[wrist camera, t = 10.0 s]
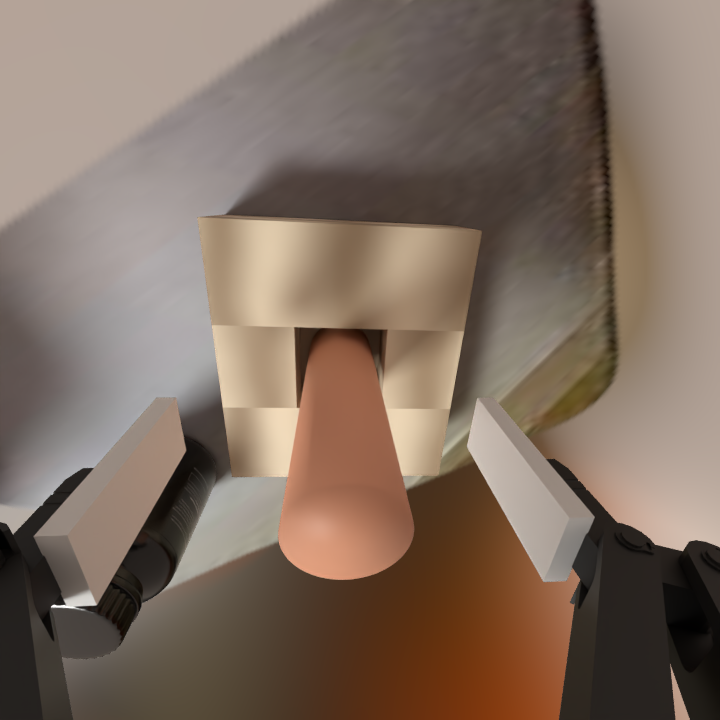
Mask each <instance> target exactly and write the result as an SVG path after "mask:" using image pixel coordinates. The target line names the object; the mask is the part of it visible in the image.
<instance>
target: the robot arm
mask: <svg viewBox="0 0 720 720" xmlns="http://www.w3.org/2000/svg"><path fill="white" fill-rule="evenodd" d="M467 448H468V449H469V451H470V453H471V455H472V456H473V458H474V460H475V462H476V464H477V465H478V467H479V469H480V470H481V472H482V474H483V476H484V478H485V479H486V481H487V483H488V484H489V486H490V488H491V490H492V492H493V493H494V495H495V497H496V499H497V501H498V502H499V504H500V505H501V508H502V509H503V511H504V513H505V515H506V516H507V518H508V520H509V522H510V524H511V525H512V527H513V529H514V530H515V532H516V534H517V536H518V538H519V539H520V541H521V543H522V545H523V546H524V548H525V550H526V552H527V553H528V555H529V557H530V559H531V561H532V562H533V564H534V566H535V567H536V569H537V571H538V572H539V575H540V576H541V578H542V580H543V582H550V581H551V582H552V581H567V579H568V577H569V574H570V572H571V570H572V568H573V569H574V570H575V572H576V573H577V575H578V576H579V578H580V579H581V580H580V582H579V584H578V586H577V588H576V590H575V592H574V595H573V597H572V599H571V601H570V603H572V604H574V603H575V606H574V614H573V621H572V628H571V635H570V643H569V651H568V657H567V665H566V672H565V680H564V686H563V694H562V702H561V709H560V716H559V720H675V711H674V700H673V690H672V679H671V669H670V664H671V667H672V670H673V673H674V676H675V678H676V681H677V684H678V687H679V689H680V692H681V695H682V698H683V701H684V704H685V706H686V710H687V712H688V715H689V718H690V720H720V548H719V547H718V546H715V545H712V544H710V543H707V542H703V541H697V540H695V541H690V542H689V543H688V544H687V546H686V547H685V549H684V551H679V550H675V549H670V548H666V547H662V546H658V545H655V544H654V543H653V542H652V541H651V540H650V539H649V538H648V537H647V536H646V535H644V534H643V533H642V532H640V531H638V530H636V529H635V528H633V527H631V526H628V525H625V524H622V523H617V522H616V521H615V520H614V519H613V518H612V517H611V515H610V514H609V513H608V512H607V511H606V510H605V509H604V508H603V507H602V505H601V504H600V503H599V502H598V501H597V500H596V499H595V498H594V497H593V495H591V493H590V492H589V491H588V490H586V488H585V487H584V486H583V484H582V483H581V482H580V481H578V479H577V478H576V477H575V475H574V474H573V473H572V472H571V471H570V470H569V469H568V468H567V467H565V466H564V465H562V464H561V463H560V462H558V461H557V460H555V459H545V458H544V457H543V455H542V454H541V453H540V452H539V451H538V449H537V448H536V447H535V446H534V445H533V444H532V442H531V441H530V440H529V439H528V438H527V436H526V435H525V434H524V433H523V432H522V431H521V429H520V428H519V427H518V426H517V425H516V423H515V422H514V421H513V420H512V419H511V418H510V416H509V415H508V414H507V413H506V412H505V410H504V409H503V408H502V407H501V406H500V405H499V403H498V402H497V401H496V400H495V399H494V398H477V403H476V407H475V412H474V417H473V421H472V426H471V431H470V435H469V440H468V445H467ZM185 452H186V447H185V442H184V437H183V431H182V426H181V421H180V416H179V411H178V406H177V401H176V398H156V399H155V400H154V401H153V402H152V404H151V405H150V406H149V407H148V408H147V409H146V410H145V411H144V413H143V414H142V415H141V416H140V417H139V418H138V419H137V420H136V422H135V423H134V424H133V425H132V426H131V427H130V428H129V429H128V431H127V432H126V433H125V434H124V435H123V436H122V437H121V439H120V440H119V441H118V442H117V443H116V444H115V445H114V446H113V448H112V449H111V450H110V451H109V452H108V453H107V454H106V455H105V457H104V458H103V459H102V460H101V461H100V462H99V463H98V464H97V466H96V467H95V468H83V469H81V470H80V471H78V472H77V473H75V474H73V475H72V476H70V477H69V478H67V479H66V480H65V481H64V482H63V483H62V484H61V485H60V486H59V487H58V488H57V489H56V490H55V491H54V492H53V495H51V496H50V497H49V498H48V499H47V500H46V501H45V502H44V503H43V506H40V507H39V508H38V509H37V510H36V511H35V512H34V513H33V514H32V515H31V517H30V518H29V519H28V520H27V521H26V522H25V523H24V524H23V525H22V526H21V527H20V528H19V529H18V530H17V531H16V532H15V533H14V535H13V534H12V532H11V530H10V529H9V527H8V526H7V524H5V523H1V522H0V720H73V716H72V711H71V705H70V700H69V694H68V689H67V684H66V678H65V673H64V668H63V663H62V657H61V651H60V646H59V640H58V635H57V630H56V624H55V619H54V615H53V613H52V611H51V609H50V608H51V607H52V605H53V604H54V602H55V601H56V600H57V598H58V597H59V595H60V594H61V595H62V597H63V599H64V601H65V604H66V606H67V607H75V606H94V605H97V604H98V602H99V601H100V599H101V597H102V595H103V594H104V592H105V590H106V588H107V587H108V585H109V583H110V582H111V580H112V578H113V576H114V575H115V573H116V571H117V569H118V568H119V566H120V564H121V563H122V561H123V559H124V557H125V556H126V554H127V552H128V550H129V549H130V547H131V545H132V544H133V542H134V540H135V538H136V537H137V535H138V533H139V531H140V530H141V528H142V526H143V524H144V523H145V521H146V519H147V518H148V516H149V514H150V512H151V511H152V509H153V507H154V505H155V504H156V502H157V500H158V499H159V497H160V495H161V493H162V492H163V490H164V488H165V486H166V485H167V483H168V481H169V480H170V478H171V476H172V474H173V473H174V471H175V469H176V467H177V466H178V464H179V462H180V461H181V459H182V457H183V455H184V454H185Z"/></svg>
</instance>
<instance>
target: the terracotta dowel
mask: <svg viewBox="0 0 720 720" xmlns="http://www.w3.org/2000/svg"><path fill="white" fill-rule="evenodd" d="M413 535H414V523H413V518H412V514H411V510H410V506H409V502H408V498H407V494H406V490H405V486H404V482H403V477H402V473H401V469H400V465H399V461H398V457H397V453H396V449H395V445H394V441H393V437H392V433H391V429H390V425H389V420H388V416H387V412H386V408H385V404H384V400H383V396H382V392H381V388H380V384H379V380H378V376H377V372H376V368H375V363H374V359H373V355H372V351H371V347H370V343H369V340H368V338H367V336H366V335H365V334H364V332H363V331H362V330H361V329H346V328H321V329H320V330H319V331H318V332H317V333H316V334H315V336H314V337H313V339H312V342H311V345H310V351H309V356H308V362H307V368H306V374H305V380H304V385H303V391H302V397H301V403H300V409H299V414H298V420H297V426H296V432H295V438H294V443H293V449H292V455H291V461H290V467H289V472H288V478H287V484H286V490H285V496H284V501H283V507H282V513H281V519H280V525H279V530H278V539H279V544H280V547H281V549H282V551H283V553H284V555H285V556H286V557H287V558H288V560H289V561H290V562H292V563H293V564H294V565H295V566H297V567H298V568H299V569H301V570H303V571H305V572H307V573H309V574H312V575H315V576H318V577H322V578H327V579H337V580H338V579H339V580H346V579H356V578H362V577H366V576H370V575H373V574H376V573H378V572H380V571H382V570H384V569H386V568H388V567H389V566H391V565H393V564H394V563H395V562H397V561H398V560H399V559H400V558H401V557H402V556H403V555H404V553H405V552H406V551H407V549H408V548H409V546H410V544H411V542H412V538H413Z"/></svg>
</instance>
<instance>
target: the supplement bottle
mask: <svg viewBox="0 0 720 720" xmlns="http://www.w3.org/2000/svg"><path fill="white" fill-rule="evenodd" d="M184 442H185V447H186V452H185V454H184V455H183V457H182V459H181V461H180V462H179V464H178V466H177V467H176V469H175V471H174V473H173V474H172V476H171V478H170V480H169V481H168V483H167V485H166V486H165V488H164V490H163V492H162V493H161V495H160V497H159V499H158V500H157V502H156V504H155V505H154V507H153V509H152V511H151V512H150V514H149V516H148V518H147V519H146V521H145V523H144V524H143V526H142V528H141V530H140V531H139V533H138V535H137V537H136V538H135V540H134V542H133V544H132V545H131V547H130V549H129V550H128V552H127V554H126V556H125V557H124V559H123V561H122V563H121V564H120V566H119V568H118V569H117V571H116V573H115V575H114V576H113V578H112V580H111V582H110V583H109V585H108V587H107V588H106V590H105V592H104V594H103V595H102V597H101V599H100V601H99V602H98V604H97V605H94V606H75V607H67V606H66V604H65V601H64V599H63V597H62V595H61V594H60V595H59V597H58V598H57V600H56V601H55V602H54V604H53V605H52V607H51V608H50V609H51V611H52V613H53V615H54V619H55V624H56V630H57V635H58V640H59V646H60V651H61V657H64V658H73V659H89V658H97V657H103V656H104V655H107V654H110V653H111V652H112V651H115V650H116V649H117V647H119V646H120V645H121V643H122V642H123V640H124V638H125V636H126V634H127V632H128V630H129V628H130V626H131V623H132V622H133V621H134V620H135V619H136V617H137V616H138V613H139V611H140V609H141V606H142V603H144V602H146V601H148V600H150V599H152V598H153V597H155V596H156V595H158V594H159V593H160V592H161V591H162V590H163V589H165V588H166V586H167V585H168V584H169V583H170V581H171V580H172V578H173V576H174V574H175V572H176V570H177V568H178V565H179V563H180V561H181V559H182V557H183V554H184V552H185V550H186V548H187V545H188V543H189V541H190V539H191V536H192V534H193V532H194V530H195V527H196V525H197V523H198V521H199V518H200V516H201V514H202V512H203V509H204V507H205V505H206V503H207V501H208V498H209V496H210V494H211V491H212V489H213V487H214V484H215V481H216V475H217V471H216V466H215V463H214V461H213V459H212V457H211V456H210V454H209V453H208V452H207V451H206V450H205V449H204V448H203V447H202V446H201V445H199V444H198V443H196V442H194V441H192V440H190V439H188V438H185V437H184Z"/></svg>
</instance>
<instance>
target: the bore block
mask: <svg viewBox="0 0 720 720" xmlns="http://www.w3.org/2000/svg"><path fill="white" fill-rule="evenodd" d="M197 218H198V225H199V233H200V240H201V248H202V255H203V263H204V270H205V278H206V285H207V293H208V300H209V308H210V315H211V323H212V330H213V338H214V345H215V353H216V360H217V368H218V375H219V383H220V390H221V398H222V405H223V413H224V420H225V428H226V435H227V443H228V450H229V458H230V465H231V473H232V477H288V472H289V467H290V461H291V455H292V449H293V443H294V438H295V432H296V426H297V420H298V414H299V409H300V403H301V397H302V391H303V385H304V380H305V374H306V368H307V362H308V356H309V351H310V345H311V342H312V339H313V337H314V336H315V334H316V333H317V332H318V331H319V330H320V329H321V328H346V329H361V330H362V331H363V332H364V334H365V335H366V336H367V338H368V340H369V343H370V347H371V351H372V355H373V359H374V363H375V368H376V372H377V376H378V380H379V384H380V388H381V392H382V396H383V400H384V404H385V408H386V412H387V416H388V420H389V425H390V429H391V433H392V437H393V441H394V445H395V449H396V453H397V457H398V461H399V465H400V469H401V473H402V476H417V475H438V474H439V468H440V462H441V457H442V451H443V446H444V440H445V435H446V429H447V424H448V418H449V412H450V407H451V401H452V396H453V390H454V385H455V379H456V374H457V368H458V362H459V357H460V351H461V346H462V340H463V335H464V329H465V324H466V318H467V312H468V307H469V301H470V296H471V290H472V285H473V279H474V274H475V268H476V262H477V257H478V251H479V246H480V240H481V235H482V231H480V230H475V229H469V228H464V227H459V226H449V225H429V224H408V223H388V222H367V221H346V220H326V219H305V218H285V217H264V216H243V215H216V216H206V217H197Z"/></svg>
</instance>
